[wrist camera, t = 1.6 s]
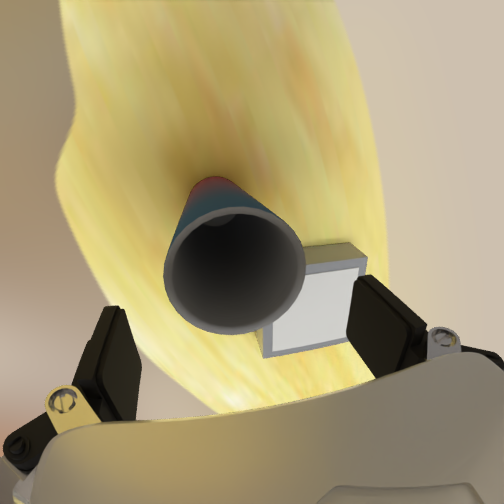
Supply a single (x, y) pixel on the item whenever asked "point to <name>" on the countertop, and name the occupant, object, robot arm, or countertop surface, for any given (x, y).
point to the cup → (232, 261)
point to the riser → (317, 303)
